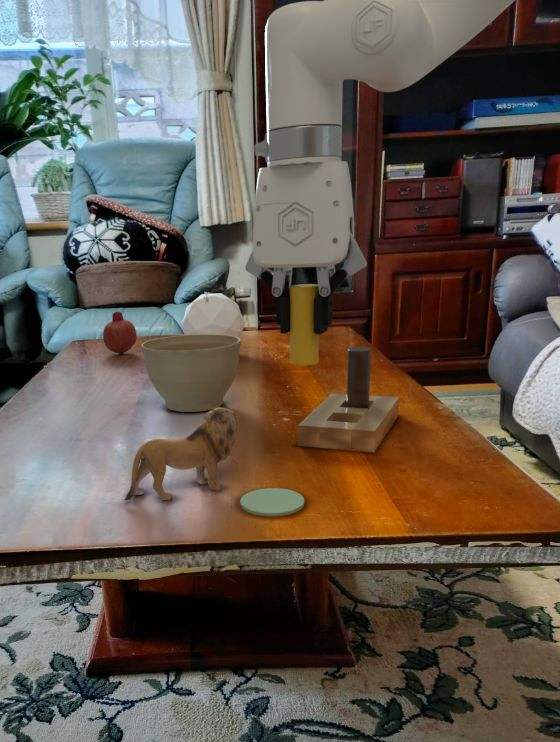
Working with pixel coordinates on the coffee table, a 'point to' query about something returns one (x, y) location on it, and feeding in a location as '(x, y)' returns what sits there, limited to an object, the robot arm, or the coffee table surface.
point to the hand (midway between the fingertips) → (304, 330)
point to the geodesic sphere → (213, 316)
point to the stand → (348, 424)
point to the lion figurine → (187, 453)
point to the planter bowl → (192, 369)
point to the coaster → (272, 502)
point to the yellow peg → (303, 325)
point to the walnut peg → (358, 377)
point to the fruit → (119, 334)
